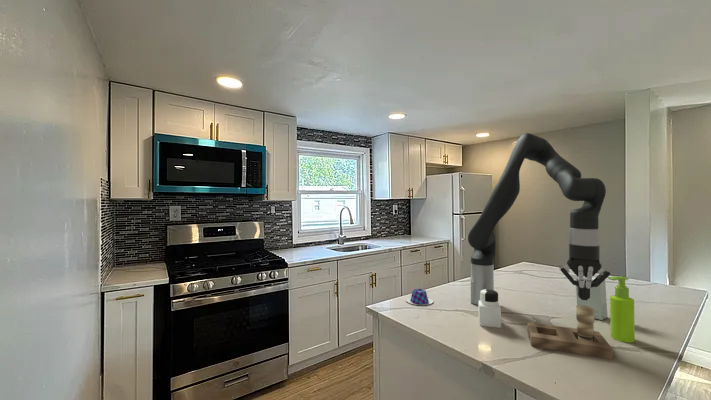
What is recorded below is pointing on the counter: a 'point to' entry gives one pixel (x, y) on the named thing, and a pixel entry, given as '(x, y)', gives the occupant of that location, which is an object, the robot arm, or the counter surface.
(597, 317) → the skincare box
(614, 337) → the soap dispenser
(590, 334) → the peg
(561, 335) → the board
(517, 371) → the counter surface
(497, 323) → the medicine bottle
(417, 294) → the pudding
